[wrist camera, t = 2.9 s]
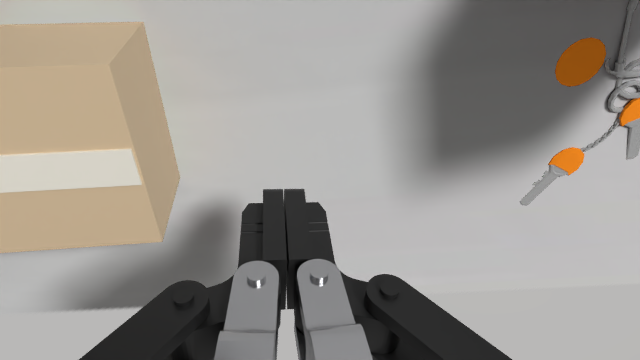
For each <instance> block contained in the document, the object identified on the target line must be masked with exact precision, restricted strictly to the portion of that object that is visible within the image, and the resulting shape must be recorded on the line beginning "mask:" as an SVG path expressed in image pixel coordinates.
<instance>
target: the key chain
mask: <svg viewBox="0 0 640 360" xmlns="http://www.w3.org/2000/svg"><path fill="white" fill-rule="evenodd" d="M638 2H639V0H630V2H629V4H628V7H627V9H626V10H628V13H627V18H626V22H625V27H624V32H623V37H622V41H621V46H620V51H619V56H618V61H617V62H615V71H611V70H610V68H609V66H608V65H609V60H610V58H608V59H607V60H606V61H605V68H606V70H607V71H608V72H609V73H610V74H614V75H615V76H616V77H618V78H617V81H616V87H615V90H614V91H613V92H612V94H611V96H610V97H609V99H608V108H609V110H610V111H612V112H620V113H619V115H618V116H619V118H618V119H616V121H615V122H614V126H611V128H610V129H609V131H608V132H607V133H605V134H604V135H603V136H602V138H601V139H600V138H599V139H598V140H596V141H595V143H594V144H590V145H588V146H587V147H586V148H581V149H578V148H573V147H572V148H568V149H565V150H562V151H561V152H559V153H558V154H556V155H555V156H554V157H553V158H552V160H551V161H550V163H549V164H548V165H550V166H549V172H548V171H546V172H545V173H544V175H543V176H542V177H543V179H542V180H541V181H540V180H538V181H537V182H534V183H533V184H532V185H536V186H535V187H534V188H533V189H532V190H531V191H530V192H529V193H528V194H527V195H526V196H525V197H524V198H523V199H522V200H521V201H520V203H521V204H522V205H528V204H530V203H531V202H532V201H533V200H534V199H535V198H536V197H537V196H538V195H539V194H540V193H541V192H542V191H543V190H544V189H545V188H546V187H548V186H549V185H550V184H551V183H552V182H553V181H554V180H555V179H556V178H557V177H560V176H563V175H567V174H568V175H570V174H571V173H573V172H574V171H576V170H577V169H578V168H579V167H580V165H581V164H582V163H583V159H584V154H583V152H585V151H587V150H589V149H591V148H593V147H595V146H596V145H598V144H599V143H601V142H602V141H604V140H605V139H606V138H607V137H608V136H609V135H610V134H611V133H612V132H613V131H614V130H615V129H616V128H617V126H618V125H619V123H620V125H621V126H624V125H625V126H627V127H629V132H628V142H627V153H626V160H627V159H633V158H634V157H636V156H637V155H638V153H639V148H640V81H637V80H632V81H628V82H625V83H623V84H622V80H623V78H626V77H639V76H640V70H631V69H632V68H634V67H635V66H638V65H640V59H638V60H635V61H633V62H631V63H629V64H628V65H627V66H626V67H625V65H626V59H625V58H624V54H625V49H626V44H627V39H628V34H629V29H630V24H631V19H632V14H633V10H635V9H636V7H637V4H638ZM605 56H606V50H605V45H604V44H603V43H602V42H601V40H599V39H595V38H592V37H591V38H586V39H581V40H579V41H577V42H575V43H574V44H572V45H571V46H570V47H568V48H567V49H566V50H565V51H564V52H563V53H562V55H561V57H560V58H559V60H558V62H557V65H556V70H555V74H556V79H557V80H558V81H559V82H560V83H561V84H562V85H565V86H569V87H570V86H577V85H580V84H582V83H584V82H586V81H588V80H589V79H591V78H592V77H593V76H594V75H595V74H596V73H597V72H598V71H599V69H600V68H601V66H602V65H603V63H604V59H605ZM624 67H625V68H624ZM632 85H635V86H637V88H638V92H637V93H629V92H627V91H624V89H625V88H627V87H629V86H632ZM617 95H619V96H621V97H624V98H626V99H631V98H635V99H633V100H631V101H630V102H629V103H628V104H627V105H626V106H624V107H620V108H617V107H614V105H613V104H614V100H615V99H616V97H617Z"/></svg>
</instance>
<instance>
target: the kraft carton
mask: <svg viewBox="0 0 640 360" xmlns="http://www.w3.org/2000/svg"><path fill="white" fill-rule="evenodd" d="M179 179H180V175H179V171H178V167H177V162H176V158H175V154H174V150H173V145H172V141H171V137H170V133H169V129H168V124H167V120H166V116H165V112H164V107H163V103H162V99H161V95H160V90H159V86H158V82H157V78H156V73H155V69H154V65H153V61H152V57H151V52H150V48H149V44H148V40H147V35H146V31H145V27H144V23H143V22H110V23H62V24H14V25H0V253H8V252H22V251H37V250H51V249H66V248H80V247H95V246H109V245H124V244H138V243H153V242H163V238H164V234H165V231H166V227H167V223H168V220H169V216H170V212H171V209H172V205H173V201H174V198H175V194H176V190H177V187H178V183H179Z"/></svg>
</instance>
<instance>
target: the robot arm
mask: <svg viewBox="0 0 640 360" xmlns="http://www.w3.org/2000/svg"><path fill="white" fill-rule="evenodd" d="M286 291H287V309H294V315H295V325H294V332H295V338H296V346H297V351H298V359H299V360H512V359H511V358H509V357H508V356H507V355H505V354H504V353H503V352H501V351H500V350H498V349H497V348H496V347H494V346H492V345H491V344H490V343H489V342H487V341H486V340H485V339H483V338H482V337H480V336H479V335H478V334H476V333H475V332H474V331H472V330H471V329H469V328H468V327H467V326H465V325H464V324H463V323H461V322H460V321H458V320H457V319H456V318H454V317H453V316H451V315H450V314H449V313H447V312H446V311H444V310H443V309H442V308H440V307H439V306H438V305H436V304H435V303H434V302H432V301H431V300H429V299H428V298H427V297H425V296H424V295H423V294H421V293H420V292H418V291H417V290H416V289H414V288H413V287H412V286H410V285H409V284H407V283H406V282H405V281H403V280H402V279H400V278H398V277H396V276H393V275H389V274H381V275H377V276H374V277H373V278H371V279H370V280H369V282H365V281H360V280H356V279H353V278H350V277H348V276H346V275H345V274H343V273H342V272H341V271H340V270H339V269H338V267H337V266H336V264H335V261H334V255H333V250H332V244H331V239H330V233H329V228H328V223H327V217H326V211H325V210H324V209H323V208H322V206H321V205H320V204H319V203H318V202H310V203H306V200H305V192H304V189H284V200H283V189H263V203H249V204H248V205H247V207H246V208H245V210H244V211H243V212H242V223H241V236H240V250H239V264H238V268H237V270H236V272H235V274H234V275H233V276H232V277H231V278H230V279H228V280H227V281H225V282H223V283H221V284H218V285H215V286H212V287H209V288H206V287H205V286H204V285H202V284H201V283H199V282H196V281H181V282H177V283H175V284H173V285H171V286H169V287H168V288H166V289H165V290H164V291H163V292H162V293H160V294H159V295H158V296H157V297H155V298H154V299H153V300H152V301H150V302H149V303H148V304H147V305H146V306H144V307H143V308H142V309H141V310H139V311H138V312H137V313H136V314H135V315H133V316H132V317H131V318H130V319H128V320H127V321H126V322H125V323H124V324H122V325H121V326H120V327H119V328H117V329H116V330H115V331H114V332H112V333H111V334H110V335H109V336H108V337H106V338H105V339H104V340H103V341H101V342H100V343H99V344H98V345H97V346H95V347H94V348H93V349H92V350H90V351H89V352H88V353H87V354H86V355H84V356H83V357H82V358H80V359H79V360H276V359H277V344H278V328H279V326H280V314H281V313H280V312H281V310H282V309H285V305H286Z"/></svg>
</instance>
